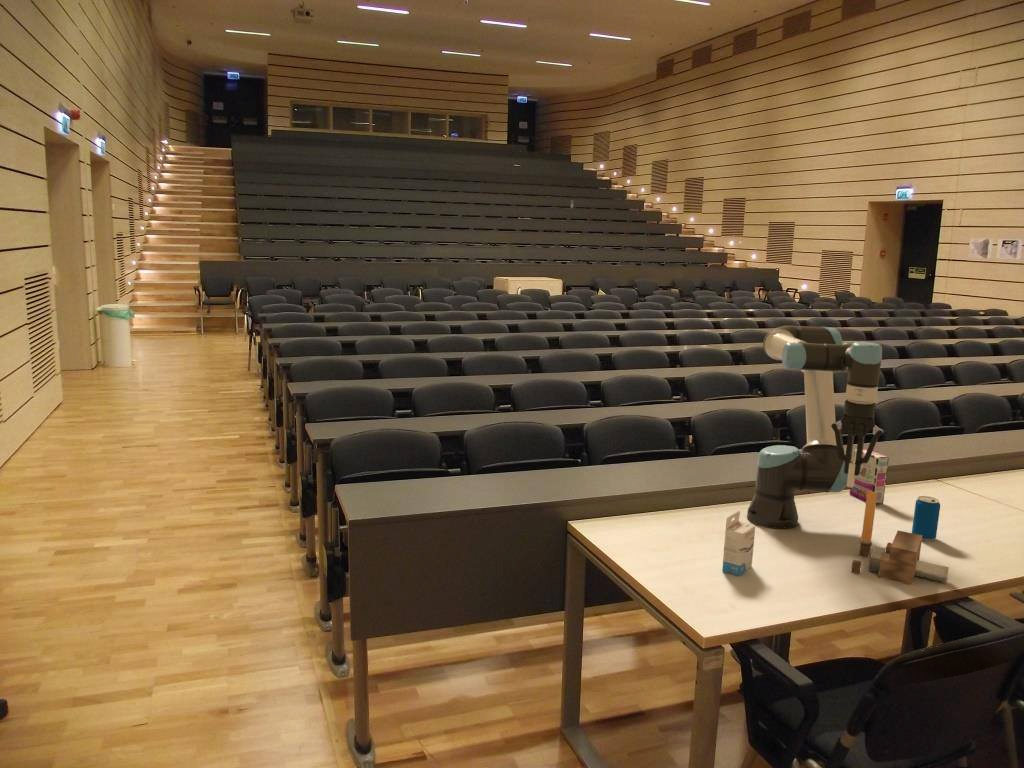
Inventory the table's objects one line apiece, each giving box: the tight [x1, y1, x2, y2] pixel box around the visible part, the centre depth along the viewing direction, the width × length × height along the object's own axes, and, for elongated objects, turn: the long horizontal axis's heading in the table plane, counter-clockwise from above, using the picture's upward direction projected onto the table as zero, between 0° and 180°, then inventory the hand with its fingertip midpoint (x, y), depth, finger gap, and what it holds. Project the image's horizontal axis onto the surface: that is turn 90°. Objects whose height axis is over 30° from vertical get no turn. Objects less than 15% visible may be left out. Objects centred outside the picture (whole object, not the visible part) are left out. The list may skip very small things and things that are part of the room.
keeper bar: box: [859, 491, 877, 547], centre depth 216 cm, size 3×15×1 cm
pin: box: [868, 545, 950, 583], centre depth 205 cm, size 18×9×4 cm, turn 57°
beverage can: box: [911, 495, 941, 542], centre depth 230 cm, size 6×6×12 cm
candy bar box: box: [849, 448, 890, 505], centre depth 264 cm, size 11×5×16 cm, turn 17°
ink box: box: [721, 510, 756, 577], centre depth 204 cm, size 9×5×15 cm, turn 141°
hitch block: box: [850, 530, 923, 586], centre depth 208 cm, size 15×16×9 cm
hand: (850, 485), depth 210 cm, fingers closed
